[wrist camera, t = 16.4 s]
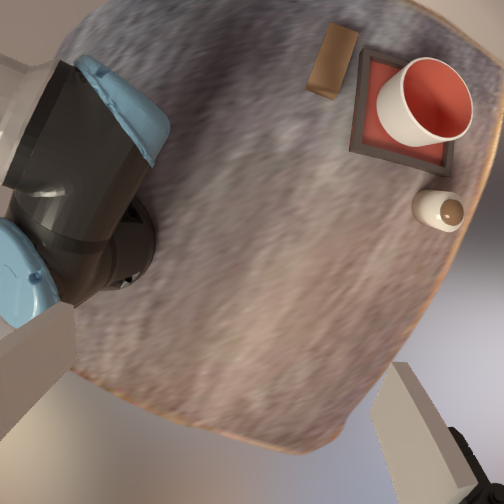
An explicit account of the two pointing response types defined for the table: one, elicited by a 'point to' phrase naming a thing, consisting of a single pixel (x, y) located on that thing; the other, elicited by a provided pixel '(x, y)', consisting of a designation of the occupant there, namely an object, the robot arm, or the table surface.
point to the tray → (371, 130)
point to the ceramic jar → (438, 209)
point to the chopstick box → (332, 61)
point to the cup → (425, 104)
